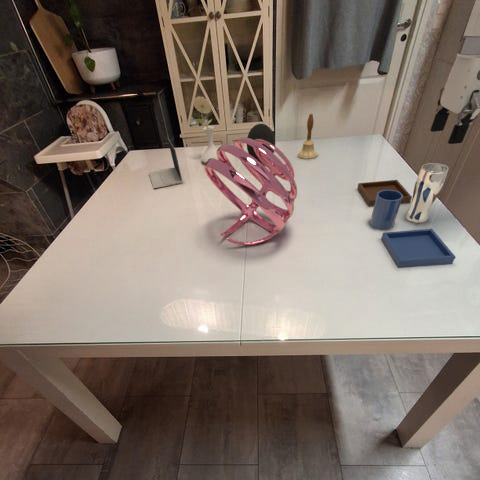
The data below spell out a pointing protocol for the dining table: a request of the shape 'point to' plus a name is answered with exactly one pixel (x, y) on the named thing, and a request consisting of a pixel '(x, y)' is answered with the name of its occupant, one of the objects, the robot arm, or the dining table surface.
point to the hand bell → (308, 142)
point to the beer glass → (426, 191)
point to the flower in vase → (206, 128)
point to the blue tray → (417, 248)
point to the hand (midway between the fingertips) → (445, 136)
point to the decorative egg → (260, 133)
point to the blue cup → (386, 209)
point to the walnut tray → (372, 188)
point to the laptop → (167, 173)
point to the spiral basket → (257, 196)
